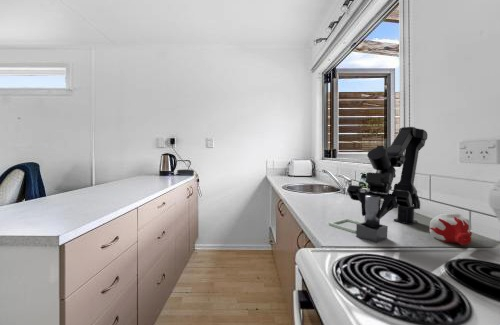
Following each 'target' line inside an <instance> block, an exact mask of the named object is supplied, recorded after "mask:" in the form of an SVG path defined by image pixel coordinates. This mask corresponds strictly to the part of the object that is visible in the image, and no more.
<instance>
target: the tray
mask: <svg viewBox="0 0 500 325" xmlns="http://www.w3.org/2000/svg"><path fill="white" fill-rule="evenodd" d="M345 222H348V223H352V224H356V225H357V224H360V223H363V222H364V221H363V222H362V221H358V220H354V219H352V218H351V219H350V218H342V219H338V220H335V221H331V222H328V226H331V227H333V228H337V229H341V230H343V231H347V232H351V233H354V234H356V229H357V228H355V229H353V228H351V227H346V226H344V225H340V224H341V223H345Z"/></svg>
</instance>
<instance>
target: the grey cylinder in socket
mask: <svg viewBox="0 0 500 325" xmlns="http://www.w3.org/2000/svg"><path fill="white" fill-rule="evenodd" d="M381 200H382V199H381V197H380V196H377V195H365V215H364V221H363V223H360V224H356V228H355V229H356V233H355V235H356V236H357V237H356V238H358V237H360V238H359V239H361V238H363V239H362V240H364V239H366V240H365V241H367V240H369V241H368V242H371V241H372V242H371V243H374V242H375V243H374V244H378V243H381V242H383V241H382V240H384V241H386V240H388V239H387V238H388V225H384V224H381V223H380V221H381V219H378V214H379V211H380V209H381ZM385 239H386V240H385ZM380 241H381V242H380ZM377 242H378V243H377Z"/></svg>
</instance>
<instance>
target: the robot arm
mask: <svg viewBox="0 0 500 325" xmlns="http://www.w3.org/2000/svg"><path fill="white" fill-rule="evenodd" d="M427 140H428V132H427V131H426V130H425V129H423V128H422V129H421V128H417V127H415V126H404V127H400V128H399V129H398V133H397V135H396V137H395V138H394V139H393V141H392V142H391V145H390V146H388V147H385V146H384V145H377V146H376V147H375V148H372V149H370V150H369V151H368V152H367V154H366V155H367V158H368V160H369V163H370V164H371V166H372V168H373V169H374V170H376V171H375V172H367V173H366V175H365V181H364V182H365V183H366V184H367V186H366V187H367V189H366V188H362V186H361V185H354V184H353V185H352V184H350V185H349V186H348V187H347V189H346V191H347V193H348V195H349V198H350V199H351V201H359V203H361V206H360V207H361V215H362V217H365V195H377V196H380V197H381V200H383V201H382V204H381V205H380V211H379V214H378V219H380V220H381V219H382V218H383V217H384V216H385V215H387V213H390V211H392V210H393V209H397V217H396V218H394V219H393V222H399V223H402V224H406V225H414V224H415V223H418V220H417V219H415V210H420V209H421V201H420V198H419V195H418V190H417V188H416V186H415V185H414V183H415V182H414V181H415V178H416V177H415V176H416V171H417V166H418V165H417V163H418V158H419V153H420V152H419V151H420V150H421V149H422V148H424V147H425V144H426V141H427ZM396 168H402V170H401V174H400V181H399V182H398V183H394V186H393V191H392V184H393V180H394V178H396ZM390 190H391V191H392V193H390Z"/></svg>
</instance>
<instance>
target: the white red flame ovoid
mask: <svg viewBox="0 0 500 325" xmlns="http://www.w3.org/2000/svg"><path fill="white" fill-rule="evenodd" d="M428 228H429V233H430V235H431V236H432V237H433V238H434V239H437V240H438V241H441V242H444V243H449V244H456V245H457V244H459V245H460V246H461V245H462V246H463V245H465V246H466V245H468V244H470V243H471V242H472V237H471V236H472V235H473V233H472V231H471V230H472V224H471V222H470V220H469V219H468V218H466V217H465V216H463V215H462V214H460V213H458V212H457V213H456V212H455V213H446V212H445V213H444V212H443V213H441V214H438V215H436V216H435V217H433V218H432V219H431V220H430V223H429V227H428Z"/></svg>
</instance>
